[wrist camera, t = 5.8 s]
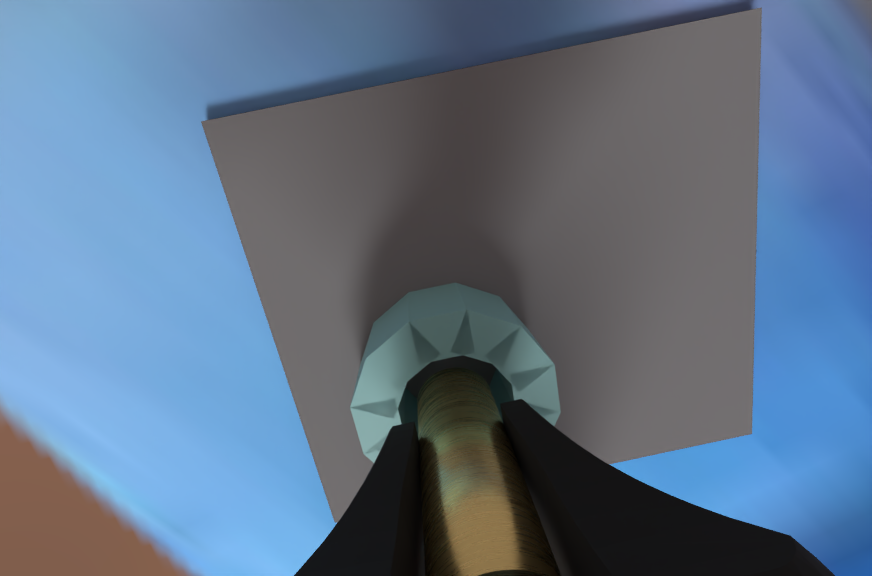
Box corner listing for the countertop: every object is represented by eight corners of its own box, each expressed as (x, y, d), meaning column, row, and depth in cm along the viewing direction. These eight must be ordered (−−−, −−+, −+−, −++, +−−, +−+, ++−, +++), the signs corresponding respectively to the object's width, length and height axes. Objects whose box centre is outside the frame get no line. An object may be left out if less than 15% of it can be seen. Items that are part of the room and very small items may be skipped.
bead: (519, 269, 15) (545, 293, 12) (541, 420, 17) (568, 472, 14) (344, 305, 15) (329, 338, 12) (385, 453, 17) (380, 512, 14)
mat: (751, 12, 14) (761, 7, 13) (744, 428, 18) (751, 433, 18) (206, 123, 13) (201, 121, 13) (336, 515, 18) (334, 522, 18)
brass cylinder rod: (488, 359, 13) (605, 631, 5) (497, 427, 14) (613, 755, 6) (408, 373, 13) (413, 670, 5) (422, 441, 14) (444, 790, 6)
